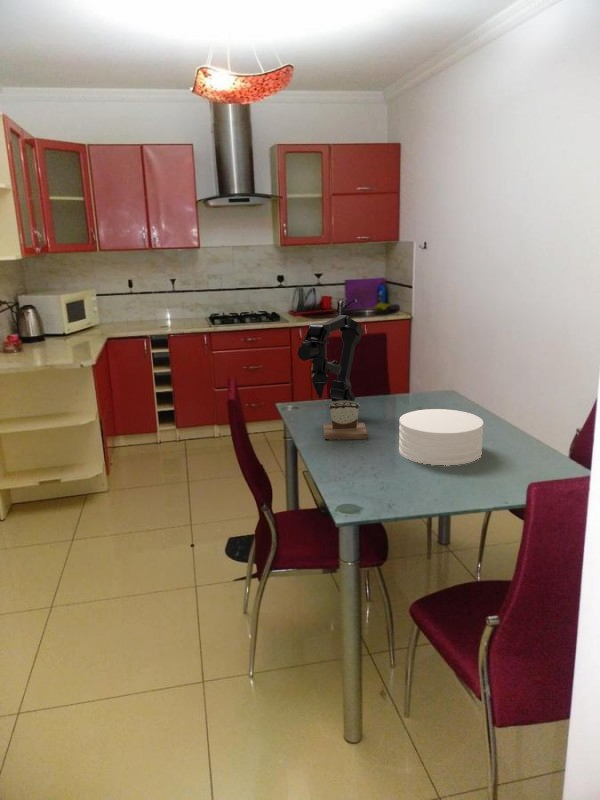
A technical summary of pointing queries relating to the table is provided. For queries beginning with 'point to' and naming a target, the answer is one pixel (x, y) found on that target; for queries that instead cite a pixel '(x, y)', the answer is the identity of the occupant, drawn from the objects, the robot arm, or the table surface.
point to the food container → (344, 415)
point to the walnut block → (345, 432)
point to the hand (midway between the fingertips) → (320, 395)
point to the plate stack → (440, 437)
